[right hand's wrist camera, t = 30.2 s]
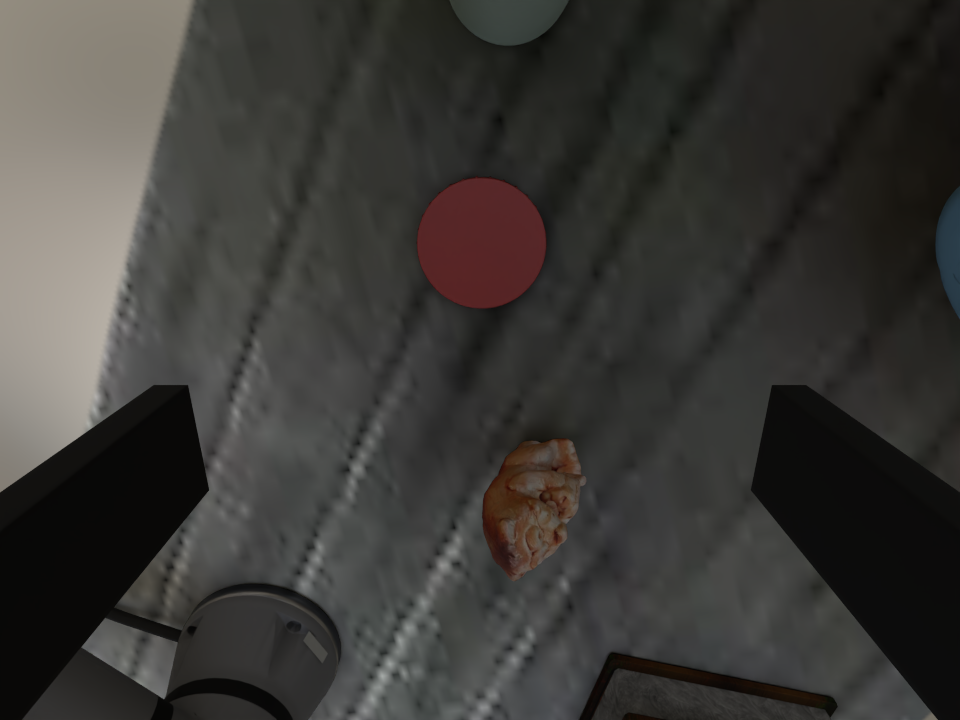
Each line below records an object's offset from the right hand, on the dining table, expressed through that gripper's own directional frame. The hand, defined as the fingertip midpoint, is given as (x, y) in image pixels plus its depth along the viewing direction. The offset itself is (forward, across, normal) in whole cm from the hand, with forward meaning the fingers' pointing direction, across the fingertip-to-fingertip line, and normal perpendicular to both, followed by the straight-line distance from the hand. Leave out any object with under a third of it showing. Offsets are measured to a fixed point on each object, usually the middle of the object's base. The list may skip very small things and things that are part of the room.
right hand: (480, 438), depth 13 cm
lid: (+29, 0, 0) cm, 29 cm away
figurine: (+30, -4, +17) cm, 35 cm away
